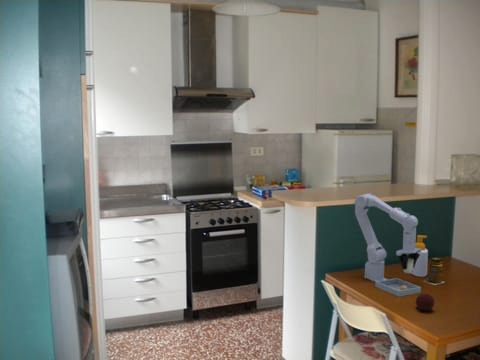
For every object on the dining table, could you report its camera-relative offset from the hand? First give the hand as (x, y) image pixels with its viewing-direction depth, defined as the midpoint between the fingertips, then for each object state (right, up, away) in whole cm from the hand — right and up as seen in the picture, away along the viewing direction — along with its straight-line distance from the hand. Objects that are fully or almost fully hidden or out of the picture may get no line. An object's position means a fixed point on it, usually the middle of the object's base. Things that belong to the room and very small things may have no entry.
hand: (408, 268), depth 241 cm
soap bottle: (+13, -7, +22) cm, 26 cm away
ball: (-5, -9, -9) cm, 14 cm away
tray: (-7, -10, -6) cm, 13 cm away
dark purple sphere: (-4, -13, -31) cm, 33 cm away
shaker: (0, -2, 0) cm, 2 cm away
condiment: (+15, -8, +7) cm, 19 cm away
